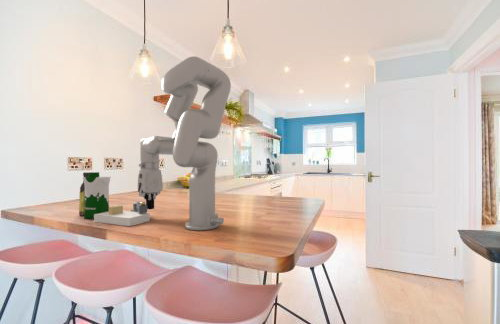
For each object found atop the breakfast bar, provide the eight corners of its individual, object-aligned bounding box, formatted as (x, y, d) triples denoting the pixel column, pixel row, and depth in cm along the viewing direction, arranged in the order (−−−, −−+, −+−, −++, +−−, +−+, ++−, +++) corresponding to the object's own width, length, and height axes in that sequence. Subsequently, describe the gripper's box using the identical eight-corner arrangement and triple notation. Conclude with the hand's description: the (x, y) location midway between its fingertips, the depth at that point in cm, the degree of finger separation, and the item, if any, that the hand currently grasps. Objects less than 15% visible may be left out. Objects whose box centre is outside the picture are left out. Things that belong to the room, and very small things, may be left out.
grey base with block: (149, 220, 101) (149, 206, 101) (129, 226, 92) (129, 210, 92) (115, 216, 109) (115, 203, 109) (94, 221, 100) (94, 207, 100)
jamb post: (146, 216, 109) (146, 209, 109) (139, 218, 105) (139, 210, 106) (138, 215, 111) (138, 208, 111) (130, 217, 107) (130, 210, 107)
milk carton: (80, 218, 105) (80, 172, 106) (95, 214, 114) (95, 172, 115) (99, 219, 104) (99, 172, 105) (113, 214, 113) (113, 172, 114)
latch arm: (132, 208, 109) (132, 199, 109) (143, 207, 111) (143, 198, 111) (137, 213, 99) (137, 203, 99) (149, 212, 101) (149, 202, 101)
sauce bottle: (83, 216, 111) (84, 172, 111) (75, 215, 114) (75, 172, 114) (98, 213, 117) (98, 172, 117) (90, 212, 119) (90, 172, 120)
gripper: (141, 166, 97) (142, 212, 97) (169, 166, 111) (169, 206, 111) (128, 166, 101) (129, 211, 100) (156, 166, 114) (157, 205, 114)
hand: (150, 208), depth 106 cm, fingers closed
